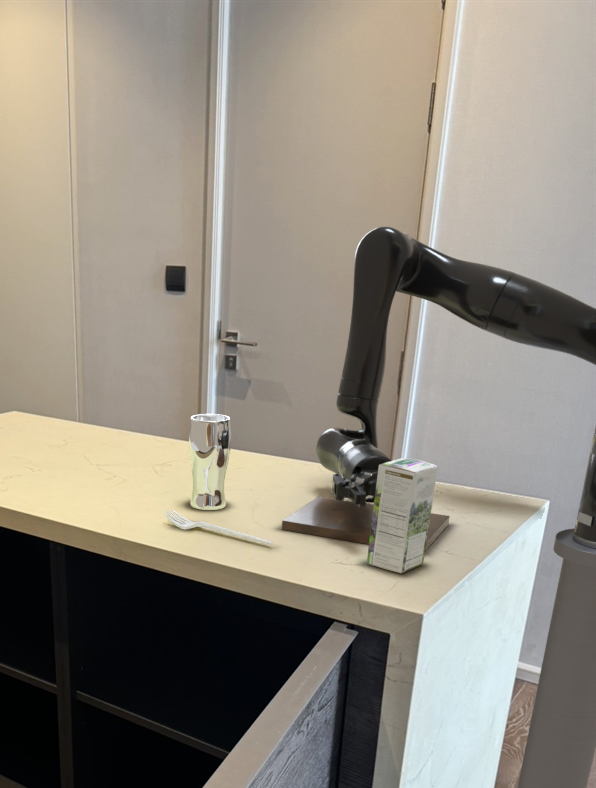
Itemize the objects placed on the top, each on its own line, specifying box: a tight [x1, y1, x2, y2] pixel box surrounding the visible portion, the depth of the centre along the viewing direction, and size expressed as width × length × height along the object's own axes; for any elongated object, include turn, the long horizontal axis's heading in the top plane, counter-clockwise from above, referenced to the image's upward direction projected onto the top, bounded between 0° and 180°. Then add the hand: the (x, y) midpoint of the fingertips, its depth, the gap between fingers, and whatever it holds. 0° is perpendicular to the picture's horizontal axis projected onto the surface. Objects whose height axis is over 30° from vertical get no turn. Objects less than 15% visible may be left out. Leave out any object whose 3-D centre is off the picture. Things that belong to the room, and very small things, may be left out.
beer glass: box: [188, 413, 232, 511], centre depth 145 cm, size 7×7×15 cm
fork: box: [162, 508, 274, 547], centre depth 133 cm, size 3×20×2 cm, turn 49°
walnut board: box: [281, 496, 451, 552], centre depth 136 cm, size 22×16×2 cm
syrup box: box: [366, 457, 439, 574], centre depth 118 cm, size 6×6×14 cm
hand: (393, 501), depth 122 cm, fingers open, 8 cm apart
